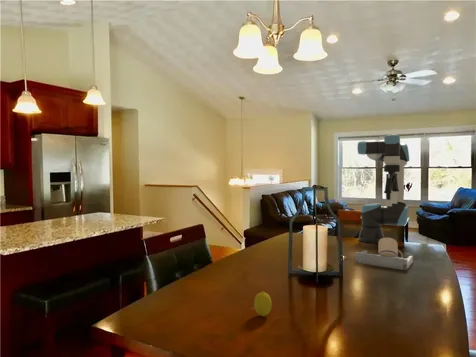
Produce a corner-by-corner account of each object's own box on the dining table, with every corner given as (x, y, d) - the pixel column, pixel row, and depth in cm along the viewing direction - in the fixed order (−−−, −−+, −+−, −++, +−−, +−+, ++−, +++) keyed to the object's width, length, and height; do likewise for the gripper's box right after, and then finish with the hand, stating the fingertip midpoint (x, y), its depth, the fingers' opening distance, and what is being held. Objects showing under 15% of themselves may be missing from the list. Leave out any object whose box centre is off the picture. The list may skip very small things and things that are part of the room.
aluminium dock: (364, 255, 181) (364, 246, 180) (412, 262, 167) (412, 252, 167) (355, 262, 168) (355, 252, 167) (406, 270, 154) (406, 259, 154)
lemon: (260, 311, 112) (260, 287, 112) (275, 315, 109) (274, 291, 109) (250, 317, 108) (250, 292, 108) (265, 322, 105) (265, 296, 104)
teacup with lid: (374, 244, 173) (374, 263, 164) (383, 234, 166) (383, 253, 158) (397, 252, 172) (398, 272, 164) (407, 243, 165) (408, 263, 157)
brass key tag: (338, 257, 178) (338, 255, 178) (346, 257, 177) (346, 255, 177) (338, 260, 171) (338, 258, 171) (347, 261, 170) (347, 259, 170)
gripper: (389, 164, 192) (389, 202, 193) (378, 164, 172) (378, 206, 172) (404, 164, 187) (404, 202, 188) (394, 164, 167) (394, 207, 168)
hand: (391, 204), depth 180 cm, fingers open, 13 cm apart
